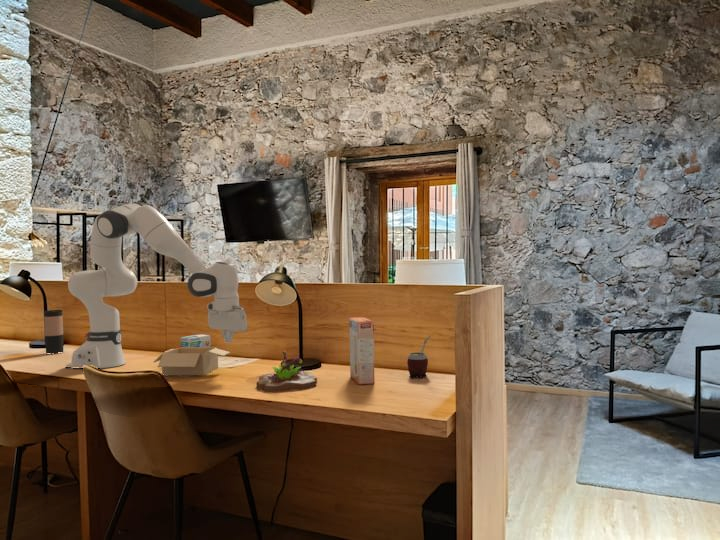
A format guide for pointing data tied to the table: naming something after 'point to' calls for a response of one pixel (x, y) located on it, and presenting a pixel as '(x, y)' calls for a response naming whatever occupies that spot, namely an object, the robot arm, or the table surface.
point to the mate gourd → (418, 363)
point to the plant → (286, 378)
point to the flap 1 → (179, 360)
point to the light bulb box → (195, 341)
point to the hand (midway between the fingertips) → (228, 342)
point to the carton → (203, 365)
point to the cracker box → (362, 350)
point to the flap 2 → (218, 352)
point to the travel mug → (53, 331)
